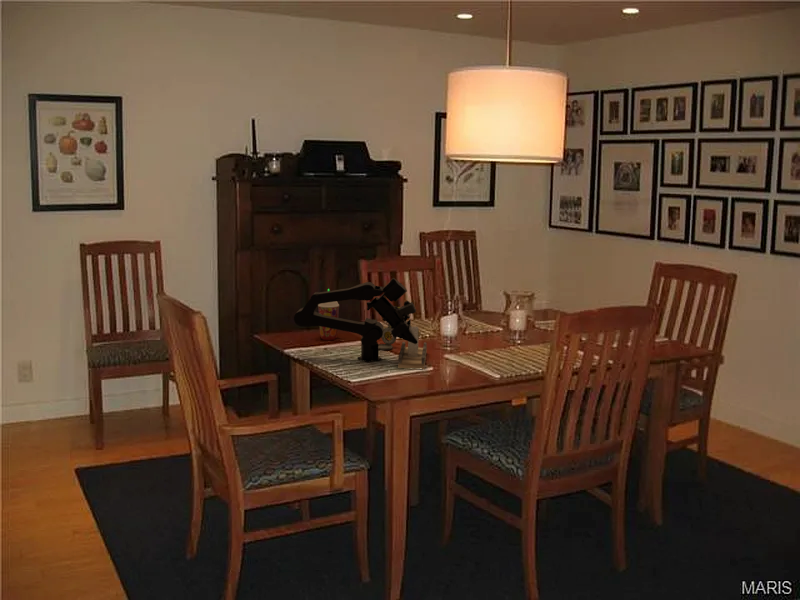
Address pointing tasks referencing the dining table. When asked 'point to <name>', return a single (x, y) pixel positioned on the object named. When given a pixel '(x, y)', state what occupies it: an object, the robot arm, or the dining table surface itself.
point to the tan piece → (412, 358)
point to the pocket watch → (387, 342)
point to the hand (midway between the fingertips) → (417, 341)
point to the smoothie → (328, 310)
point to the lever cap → (411, 346)
